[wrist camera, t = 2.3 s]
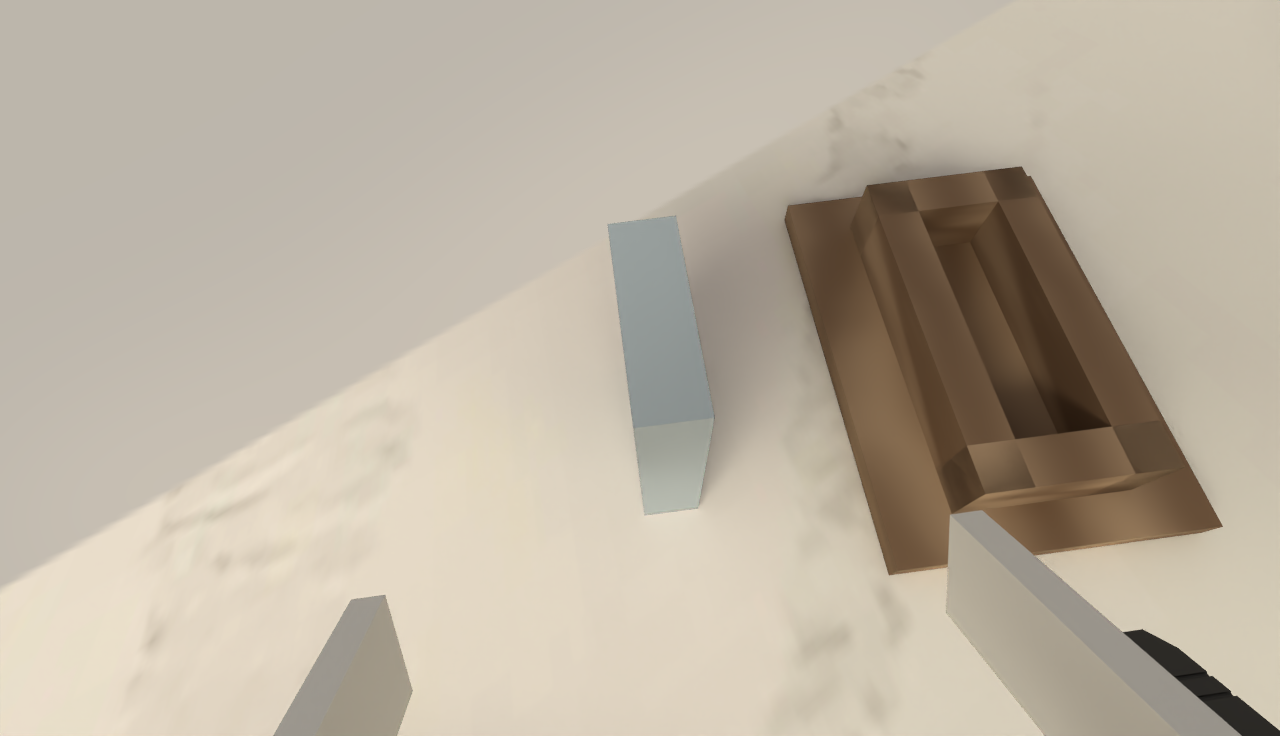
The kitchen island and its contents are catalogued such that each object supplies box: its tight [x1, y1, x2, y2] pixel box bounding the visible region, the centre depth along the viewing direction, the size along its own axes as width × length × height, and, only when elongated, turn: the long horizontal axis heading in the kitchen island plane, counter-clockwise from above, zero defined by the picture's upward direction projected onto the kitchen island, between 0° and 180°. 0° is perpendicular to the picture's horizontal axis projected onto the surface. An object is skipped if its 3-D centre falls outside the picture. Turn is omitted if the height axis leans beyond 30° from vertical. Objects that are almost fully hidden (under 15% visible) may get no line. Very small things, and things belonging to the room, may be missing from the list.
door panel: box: [608, 216, 715, 515], centre depth 26 cm, size 2×8×11 cm, turn 7°
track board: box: [785, 167, 1223, 575], centre depth 30 cm, size 14×20×4 cm
